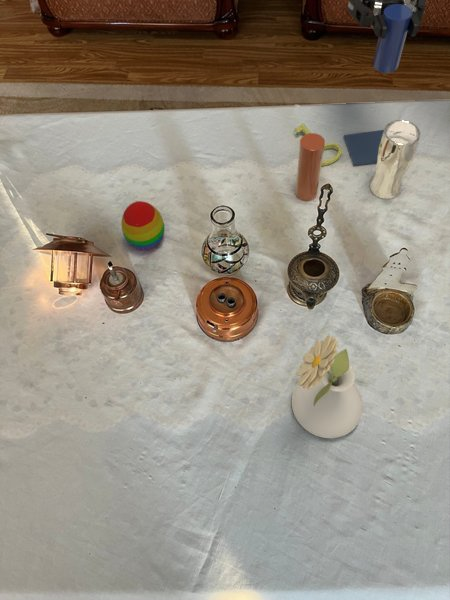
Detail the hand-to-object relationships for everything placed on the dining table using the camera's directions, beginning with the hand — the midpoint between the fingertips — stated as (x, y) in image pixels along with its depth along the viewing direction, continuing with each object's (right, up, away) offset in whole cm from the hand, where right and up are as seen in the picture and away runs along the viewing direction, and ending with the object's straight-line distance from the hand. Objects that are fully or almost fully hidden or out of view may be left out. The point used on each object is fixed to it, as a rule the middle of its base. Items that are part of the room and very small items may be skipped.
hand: (399, 32), depth 88 cm
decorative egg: (-45, -33, +18) cm, 59 cm away
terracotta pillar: (-12, -23, +22) cm, 34 cm away
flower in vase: (-13, -63, -2) cm, 65 cm away
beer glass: (+4, -22, +22) cm, 31 cm away
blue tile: (+2, -12, +27) cm, 30 cm away
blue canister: (0, -2, +8) cm, 8 cm away
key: (-9, -11, +28) cm, 32 cm away
